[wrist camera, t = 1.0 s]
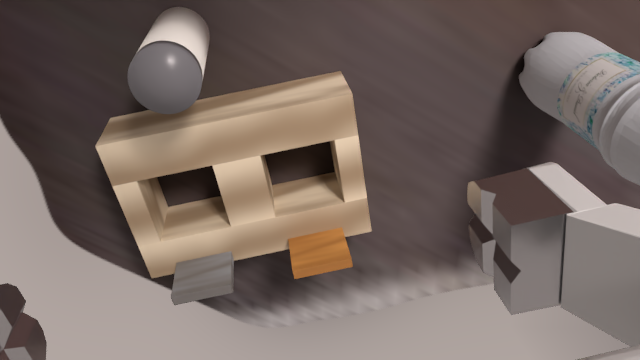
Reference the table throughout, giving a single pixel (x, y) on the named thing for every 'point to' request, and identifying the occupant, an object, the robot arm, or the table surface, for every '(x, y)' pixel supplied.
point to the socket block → (240, 183)
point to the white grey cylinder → (170, 62)
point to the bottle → (589, 94)
